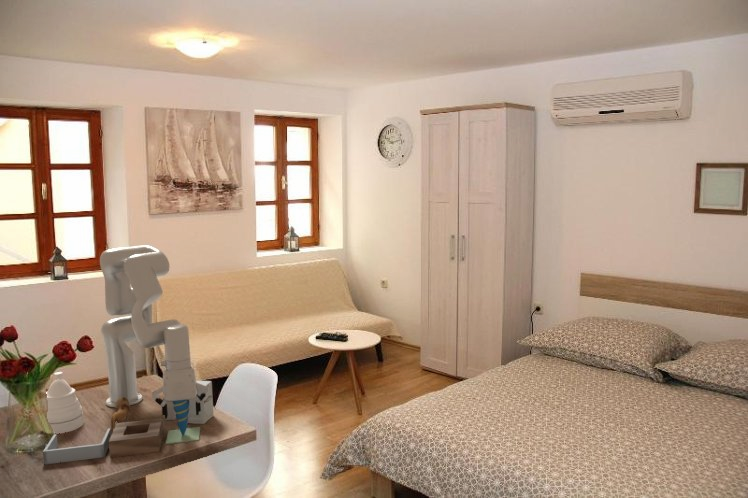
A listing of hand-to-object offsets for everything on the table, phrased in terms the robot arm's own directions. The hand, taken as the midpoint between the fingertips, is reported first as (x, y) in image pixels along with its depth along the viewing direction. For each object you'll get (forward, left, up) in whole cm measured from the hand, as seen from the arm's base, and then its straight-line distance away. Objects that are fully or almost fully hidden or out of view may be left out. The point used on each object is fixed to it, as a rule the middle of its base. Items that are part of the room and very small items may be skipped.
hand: (182, 415), depth 200 cm
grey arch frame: (+2, -30, -7) cm, 31 cm away
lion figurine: (-13, -21, -7) cm, 26 cm away
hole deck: (+2, -13, -7) cm, 15 cm away
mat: (0, 0, -7) cm, 7 cm away
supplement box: (-12, +5, -7) cm, 15 cm away
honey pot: (-20, -40, -7) cm, 46 cm away
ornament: (0, 0, -7) cm, 7 cm away
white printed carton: (-18, -4, -7) cm, 20 cm away
